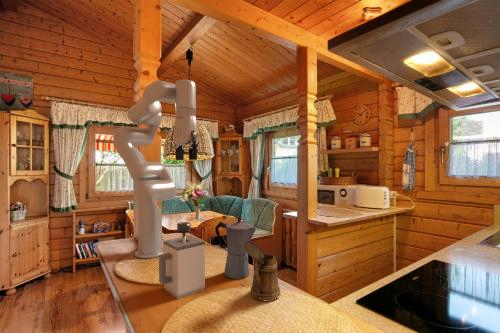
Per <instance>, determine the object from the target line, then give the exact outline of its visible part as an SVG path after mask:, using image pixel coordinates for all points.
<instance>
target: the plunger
mask: <svg viewBox="0 0 500 333" xmlns="http://www.w3.org/2000/svg"><path fill="white" fill-rule="evenodd" d="M176 226H177V227H176V231H177V233H178V234H181V237H182V243H184V242H186V236H187V235H186V234H188V233H190V232H191V222H189V221H182V222H178V223H177V224H176Z"/></svg>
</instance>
